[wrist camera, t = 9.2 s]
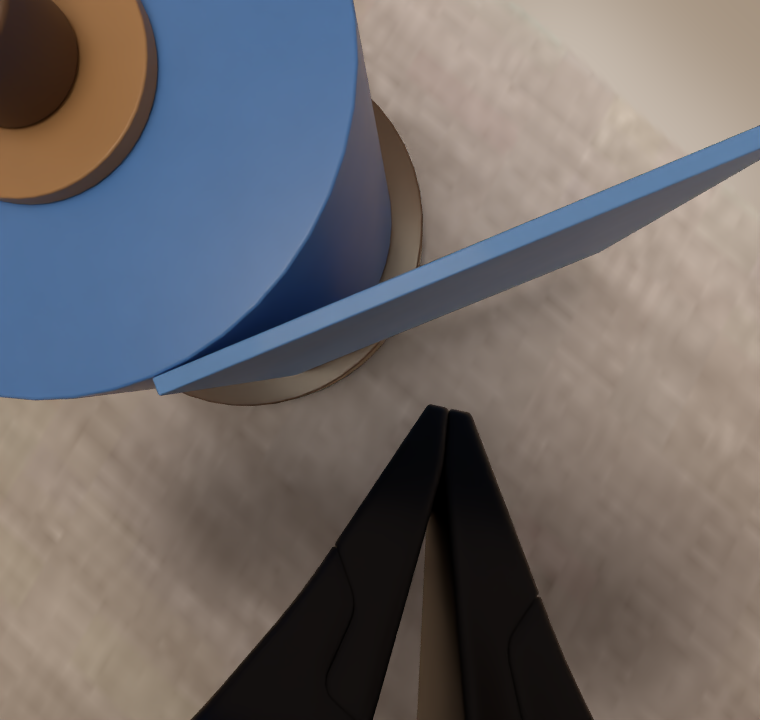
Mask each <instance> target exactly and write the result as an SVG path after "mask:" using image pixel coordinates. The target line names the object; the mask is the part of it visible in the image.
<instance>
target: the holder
mask: <svg viewBox="0 0 760 720" xmlns="http://www.w3.org/2000/svg"><path fill="white" fill-rule="evenodd" d="M371 100H372V99H371ZM372 106H373V111H374V116H375V122H376V127H377V133H378V138H379V144H380V149H381V154H382V160H383V165H384V171H385V176H386V182H387V187H388V192H389V198H390V204H391V236H390V246H389V250H388V255H387V260H386V264H385V267H384V270H383V273H382V276H381V279H380V281H379V283H382V282H384V281H387V280H389V279H392V278H394V277H396V276H399V275H401V274H404V273H406V272H408V271H411V270H413V269H416V268H418V267H419V266H420V259H421V252H422V222H423V214H422V205H421V197H420V190H419V186H418V182H417V178H416V174H415V170H414V167H413V164H412V162H411V159H410V157H409V154H408V152H407V150H406V147H405V145H404V143H403V141H402V140H401V138H400V136H399V134H398V133H397V131H396V129H395V127H394V126H393V124H392V123H391V122H390V120H389V119H388V118H387V116H386V115H385V114H384V113H383V111H382V110H381V109H380V107H379V106H378V105H377V104H376V103H375V102H374V101H373V100H372ZM386 339H387V338H386ZM386 339H384V340H381V341H379V342H376V343H374V344H371V345H369V346H366V347H364V348H362V349H359V350H357V351H354V352H352V353H349V354H347V355H344V356H342V357H339V358H337V359H334V360H332V361H329V362H327V363H324V364H322V365H320V366H317V367H315V368H312V369H310V370H307V371H305V372H302V373H300V374H297V375H293V376H287V377H280V378H274V379H267V380H260V381H254V382H247V383H241V384H234V385H228V386H221V387H214V388H208V389H201V390H195V391H188V392H182V393H184V394H186V395H189V396H192V397H195V398H199V399H202V400H205V401H208V402H214V403H220V404H226V405H238V406H257V405H266V404H275V403H280V402H284V401H288V400H292V399H296V398H300V397H302V396H305V395H308V394H311V393H313V392H316V391H318V390H321V389H323V388H326V387H328V386H330V385H332V384H334V383H335V382H337V381H339V380H341V379H343V378H344V377H346V376H348V375H349V374H350V373H352V372H353V371H354V370H356V369H357V368H358V367H360V366H361V365H362V364H364V363H365V362H366V361H367V360H368V359H369V358H370V357H371V356H372V355H373V354H374V353H375V352H376V351H377V350H378V349H379V348H380V347H381V346H382V344H383V343H384V342H385V340H386Z"/></svg>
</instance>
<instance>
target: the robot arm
mask: <svg viewBox="0 0 760 720" xmlns="http://www.w3.org/2000/svg"><path fill="white" fill-rule="evenodd" d="M425 532H426V544H425V564H424V585H423V606H422V626H421V647H420V668H419V688H418V709H417V720H594V719H593V717H592V715H591V713H590V711H589V709H588V707H587V705H586V703H585V701H584V699H583V697H582V695H581V692H580V690H579V688H578V686H577V684H576V682H575V679H574V677H573V675H572V673H571V671H570V669H569V666H568V664H567V662H566V660H565V658H564V655H563V653H562V650H561V648H560V645H559V643H558V640H557V638H556V635H555V633H554V631H553V628H552V626H551V623H550V621H549V618H548V615H547V613H546V610H545V607H544V605H543V602H542V599H541V598H540V597H537V595H538V589H537V587H536V584H535V582H534V579H533V576H532V574H531V571H530V568H529V566H528V563H527V560H526V558H525V555H524V552H523V550H522V547H521V544H520V542H519V539H518V537H517V534H516V531H515V529H514V526H513V523H512V521H511V518H510V515H509V513H508V510H507V507H506V505H505V502H504V499H503V497H502V494H501V492H500V489H499V486H498V484H497V481H496V478H495V476H494V473H493V470H492V468H491V465H490V462H489V460H488V457H487V454H486V452H485V449H484V447H483V444H482V441H481V439H480V436H479V433H478V431H477V428H476V425H475V423H474V420H473V418H472V416H471V414H470V413H468V412H464V411H459V410H455V409H451V410H450V411H448V409H447V408H445V407H441V406H436V405H432V404H430V405H428V406H427V407H426V408H425V410H424V411H423V413H422V414H421V416H420V417H419V419H418V420H417V422H416V423H415V424H414V426H413V427H412V429H411V430H410V432H409V433H408V435H407V436H406V438H405V439H404V441H403V442H402V444H401V445H400V447H399V448H398V450H397V451H396V453H395V454H394V456H393V457H392V459H391V460H390V462H389V463H388V465H387V466H386V468H385V469H384V471H383V472H382V474H381V475H380V477H379V478H378V480H377V481H376V483H375V484H374V486H373V487H372V489H371V490H370V492H369V493H368V495H367V496H366V498H365V499H364V501H363V502H362V504H361V505H360V507H359V508H358V510H357V511H356V513H355V514H354V516H353V517H352V519H351V520H350V522H349V523H348V525H347V526H346V528H345V529H344V531H343V532H342V534H341V535H340V537H339V538H338V540H337V541H336V543H335V546H334V547H332V548H331V550H330V551H329V553H328V554H327V556H326V557H325V559H324V560H323V562H322V563H321V565H320V566H319V567H318V569H317V570H316V572H315V573H314V574H313V576H312V577H311V579H310V580H309V581H308V583H307V584H306V586H305V587H304V588H303V590H302V591H301V592H300V594H299V595H298V596H297V597H296V599H295V600H294V601H293V602H292V604H291V605H290V606H289V607H288V609H287V610H286V611H285V612H284V614H283V615H282V616H281V617H280V618H279V620H278V621H277V622H276V623H275V625H274V626H273V627H272V628H271V629H270V630H269V631H268V633H267V634H266V635H265V636H264V637H263V638H262V640H261V641H260V642H259V643H258V644H257V645H256V647H255V648H254V649H253V650H252V651H251V652H250V654H249V655H248V656H247V657H246V658H245V659H244V661H243V662H242V663H241V664H240V665H239V666H238V668H237V669H236V670H235V671H234V672H233V673H232V675H231V676H230V677H229V678H228V679H227V680H226V681H225V683H224V684H223V685H222V686H221V687H220V688H219V690H218V691H217V692H216V693H215V694H214V695H213V696H212V697H211V699H210V700H209V701H208V702H207V703H206V704H205V705H204V706H203V707H202V708H201V709H200V710H199V712H198V713H197V714H196V715H195V716H194V717H193V718H192V719H191V720H373V717H374V714H375V710H376V707H377V703H378V700H379V696H380V692H381V689H382V685H383V682H384V678H385V675H386V671H387V667H388V664H389V660H390V657H391V653H392V650H393V646H394V643H395V639H396V635H397V632H398V628H399V625H400V621H401V618H402V614H403V610H404V607H405V603H406V600H407V596H408V593H409V589H410V585H411V582H412V578H413V575H414V571H415V568H416V564H417V560H418V557H419V553H420V550H421V546H422V543H423V539H424V536H425Z"/></svg>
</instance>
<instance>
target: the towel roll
mask: <svg viewBox="0 0 760 720" xmlns="http://www.w3.org/2000/svg"><path fill="white" fill-rule="evenodd" d="M759 160H760V125H759V126H757V127H755V128H752V129H750V130H747V131H745V132H743V133H740V134H738V135H736V136H733V137H731V138H728V139H726V140H724V141H721V142H719V143H716V144H714V145H711V146H709V147H706V148H704V149H702V150H699V151H697V152H694V153H692V154H690V155H687V156H685V157H682V158H680V159H678V160H675V161H673V162H670V163H668V164H666V165H663V166H661V167H658V168H656V169H654V170H651V171H649V172H646V173H644V174H642V175H639V176H637V177H634V178H632V179H630V180H627V181H625V182H622V183H620V184H617V185H615V186H613V187H610V188H608V189H605V190H603V191H601V192H598V193H596V194H593V195H591V196H589V197H586V198H584V199H581V200H579V201H577V202H574V203H572V204H569V205H567V206H565V207H562V208H560V209H557V210H555V211H553V212H550V213H548V214H545V215H543V216H541V217H538V218H536V219H533V220H531V221H529V222H526V223H524V224H521V225H519V226H517V227H514V228H512V229H509V230H507V231H504V232H502V233H500V234H497V235H495V236H492V237H490V238H488V239H485V240H483V241H480V242H478V243H476V244H473V245H471V246H468V247H466V248H464V249H461V250H459V251H456V252H454V253H452V254H449V255H447V256H444V257H442V258H440V259H437V260H435V261H432V262H430V263H428V264H425V265H423V266H420V267H418V268H416V269H413V270H411V271H408V272H406V273H404V274H401V275H399V276H396V277H394V278H392V279H389V280H387V281H384V282H382V283H379V281H380V279H381V276H382V273H383V270H384V267H385V264H386V260H387V255H388V250H389V246H390V236H391V204H390V198H389V192H388V187H387V182H386V176H385V171H384V165H383V160H382V154H381V149H380V144H379V138H378V133H377V127H376V122H375V116H374V111H373V106H372V100H371V95H370V89H369V84H368V79H367V73H366V68H365V62H364V57H363V51H362V46H361V41H360V35H359V30H358V24H357V19H356V14H355V8H354V3H353V0H0V397H5V398H16V399H27V400H53V399H74V398H83V397H91V396H99V395H107V394H116V393H124V392H132V391H140V390H148V389H157V392H158V394H159V395H161V396H162V395H168V394H175V393H182V392H188V391H195V390H201V389H208V388H214V387H221V386H228V385H234V384H241V383H247V382H254V381H260V380H267V379H274V378H280V377H287V376H293V375H297V374H300V373H302V372H305V371H307V370H310V369H312V368H315V367H317V366H320V365H322V364H324V363H327V362H329V361H332V360H334V359H337V358H339V357H342V356H344V355H347V354H349V353H352V352H354V351H357V350H359V349H362V348H364V347H366V346H369V345H371V344H374V343H376V342H379V341H381V340H384V339H386V338H389V337H391V336H394V335H396V334H399V333H401V332H404V331H406V330H409V329H411V328H413V327H416V326H418V325H421V324H423V323H426V322H428V321H431V320H433V319H436V318H438V317H441V316H443V315H446V314H448V313H451V312H453V311H455V310H458V309H460V308H463V307H465V306H468V305H470V304H473V303H475V302H478V301H480V300H483V299H485V298H488V297H490V296H493V295H495V294H498V293H500V292H502V291H505V290H507V289H510V288H512V287H515V286H517V285H520V284H522V283H525V282H527V281H530V280H532V279H535V278H537V277H540V276H542V275H545V274H547V273H549V272H552V271H554V270H557V269H559V268H562V267H564V266H567V265H569V264H572V263H574V262H577V261H579V260H582V259H584V258H587V257H589V256H591V255H594V254H596V253H599V252H601V251H603V250H604V249H606V248H608V247H609V246H611V245H613V244H615V243H616V242H618V241H620V240H622V239H623V238H625V237H627V236H629V235H630V234H632V233H634V232H635V231H637V230H639V229H641V228H642V227H644V226H646V225H648V224H649V223H651V222H653V221H655V220H656V219H658V218H660V217H662V216H663V215H665V214H667V213H668V212H670V211H672V210H674V209H675V208H677V207H679V206H681V205H682V204H684V203H686V202H688V201H689V200H691V199H693V198H694V197H696V196H698V195H700V194H701V193H703V192H705V191H707V190H708V189H710V188H712V187H714V186H715V185H717V184H719V183H720V182H722V181H724V180H726V179H727V178H729V177H731V176H733V175H734V174H736V173H738V172H740V171H741V170H743V169H745V168H746V167H748V166H750V165H752V164H753V163H755V162H757V161H759Z"/></svg>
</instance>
